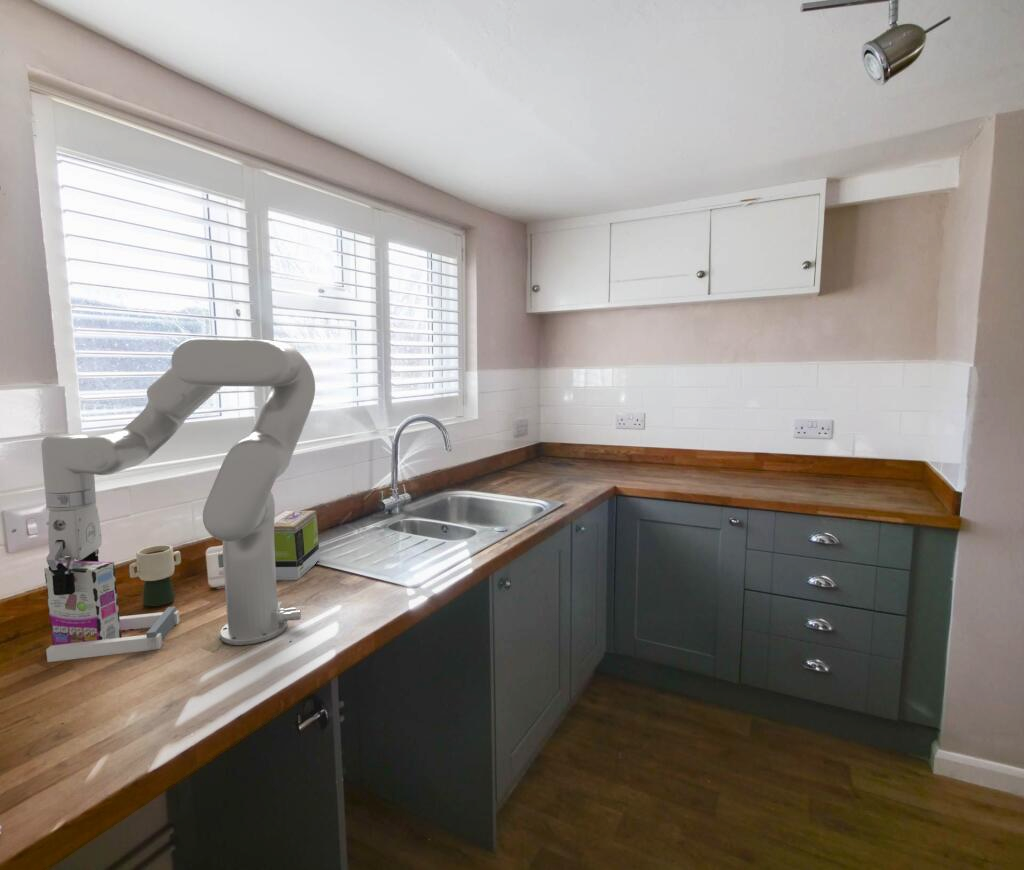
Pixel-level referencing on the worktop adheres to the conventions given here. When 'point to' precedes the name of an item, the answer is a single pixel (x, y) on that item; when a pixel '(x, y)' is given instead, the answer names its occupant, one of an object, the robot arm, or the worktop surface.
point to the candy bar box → (85, 605)
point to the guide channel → (152, 640)
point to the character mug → (156, 573)
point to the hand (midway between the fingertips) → (77, 584)
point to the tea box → (295, 543)
